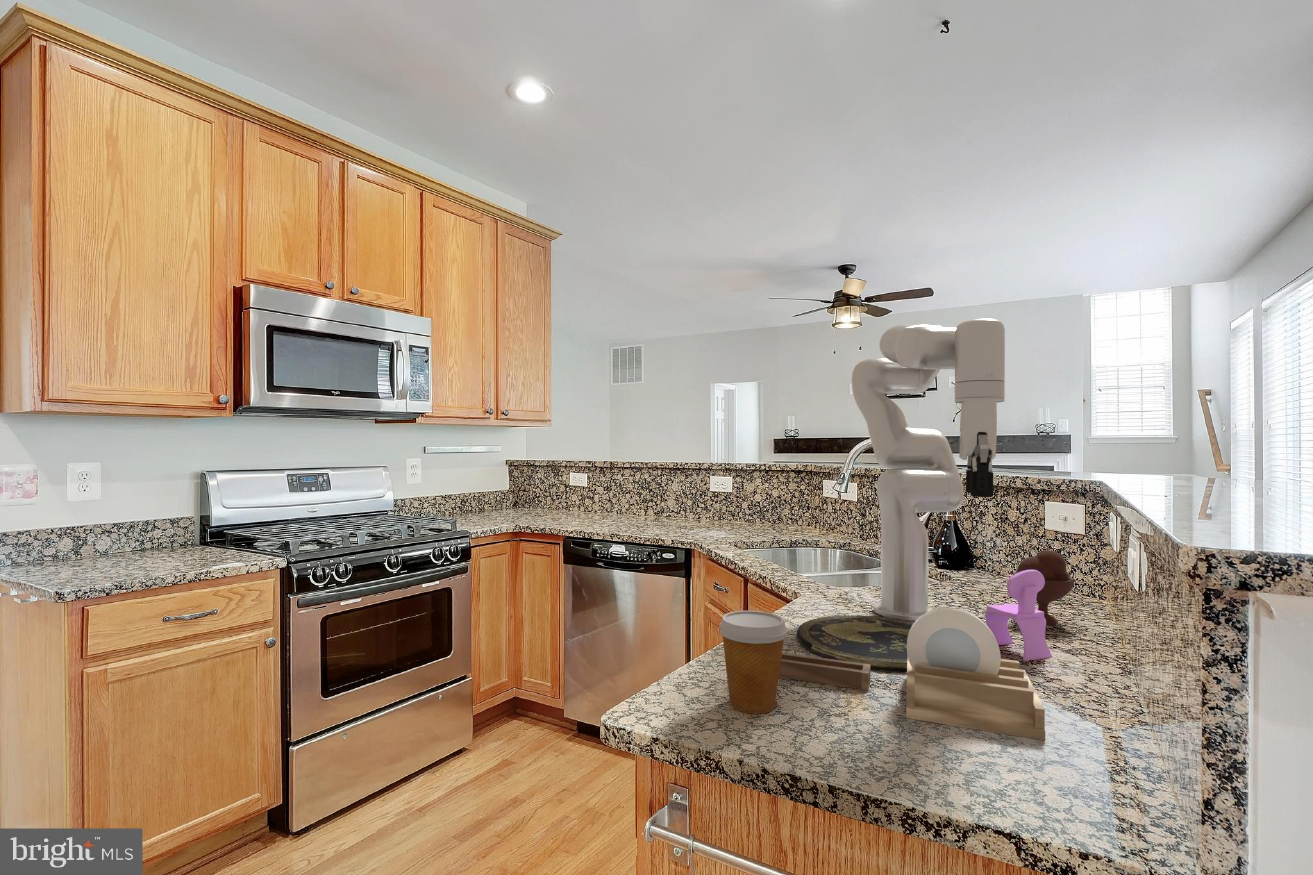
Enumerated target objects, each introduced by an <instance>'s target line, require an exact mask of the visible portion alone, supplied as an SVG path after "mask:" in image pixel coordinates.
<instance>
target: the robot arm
mask: <svg viewBox="0 0 1313 875" xmlns="http://www.w3.org/2000/svg"><path fill="white" fill-rule="evenodd" d="M1005 331H1006V330H1005V325H1004V323H1003V322H1002V321H1001V320H998V319H994V318H978V319H970V320H966V321H962V322H960V323H959V324H958V325H957V326H956V327H943V326H942V325H936V324H935V325H934V324H933V325H931V324H900V325H899V324H898V325H895V326H892V327H890V328H888V329H887V330H886V331H885V332H884V333H883V334H882V336H881V337H880V339H879V349H880V352H881V354H882V355H883V356H884V357H875V358H868V359H864V360H862V361H860V362H857V364H856V365H855V366H854V368H853V370H852V374H851V388H852V395H853V398H854V401H855V403H856V406H857V408H858V409H859V411H860V413H861V414H862V417H863V418H864V420H865V422H866V424H867V429H868V434H869V437H870V442H871V446H872V449H873V453H874V456H875V459H876V462H877V464H878V465H879V466H880V467H882V468H884V469H885V471H883V472H882V473H881V474H880V476H878V478H877V482H876V494H877V500H878V505H879V506H878V507H879V513H880V531H881V532H880V539H881V540H880V542H881V545H880V548H881V549H880V550H881V551H880V602H876V603H874V604H873V612H874V613H876V614H877V615H879V616H880V617H887V618H895V619H901V620H907V621H912V622H915V621H916V620H917V619H918V618H919V617H920V616H922V615H923V614H925V613H927V612H929V611H931V610H934V609H935V608H932V607H930V606H929V534H928V530H927V528H926V526H925V525H924V523H923V521H922V520H921V519H920V517H918V515H917V514H918V513H949V512H953V511H957V510H958V509H959V508H960V507H961V506H962V504H963V502H964V492H967V493H969V494H970V496H971V497H974V498H993V497H994V472H993V460H994V459H995V458H996V453H997V437H998V436H997V435H998V434H997V433H998V430H997V429H998V421H997V420H998V415H997V414H998V406H997V405H998V403H1005V397H1006V396H1005V395H1006V394H1005V392H1006V390H1005V387H1006V386H1005V385H1006V384H1005V383H1006V382H1005V378H1006V377H1005V375H1006V373H1005V372H1006V371H1005V370H1006V369H1005V368H1006V367H1005V363H1006V362H1005V361H1006V357H1005V356H1006V354H1005V351H1006V349H1005V348H1006V347H1005V345H1006V343H1005V342H1006V341H1005V340H1006V338H1005V337H1006V336H1005V335H1006V332H1005ZM941 370H954V403H955V404H961V406H960V415H959V416H960V417H959V458H960V459H961V460H964V461H966V460H967V464H966V466H967V467H966V468H967V469H965V490H966V491H964V487H963V482H962V478H961V475H960V472H959V470H958V466H957V463H956V461H955V457H954V454H953V452H952V448H951V446H950V443H949V441H948V438H947V437H946V436H945V435H944V434H943V433H942V432H941V431H940V430H937V429H933V428H913V427H910V426H909V425H908V424H907V420H906V416H905V415H904V412H903V410H902V409H901V408H900V407H899V406H898V404H896V402H895V401H893V400H892V399H891V398H889V397H888V396H886V395H885V394H887V395H918V394H922V393H924V392H926V391H927V390H928V389H929V388H930V386H931V385H932V384H933V382H934V381H935V379H936V378H937V375H938V374H939V372H940V371H941Z"/></svg>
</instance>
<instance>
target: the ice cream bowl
mask: <svg viewBox="0 0 1313 875" xmlns="http://www.w3.org/2000/svg"><path fill="white" fill-rule="evenodd" d="M1025 570H1037V571H1039V572H1040V573H1041V574H1042V575H1043V577H1044V579H1045V584H1044V587H1043V588H1042V590H1040V591H1039V592H1038V593H1037V598H1036V603H1037V610H1039V611H1042V612H1044V618H1045V619H1046V626H1056V625H1058V624H1059V620H1058V619H1057V618H1055V617H1054V616H1052V615H1051V614H1049V610H1048V609H1049V605H1050V603H1053V602H1056V601H1058V600H1060V599H1062V598H1064V597H1066V596H1067V595H1068V594H1070V593H1071V591H1072V589H1073V588H1074V585H1075V581H1076V579H1075V578H1073V577H1071V576H1070V574H1069V572H1068V571H1067V561H1066V559H1065V557H1063V556H1062V554H1060V553H1059V552H1058V551H1055V550H1049V549H1048V550H1047V549H1046V550H1040V551H1039V552H1038V553H1037V554H1036V555H1035V556H1029V557H1026V558H1024V559H1022V560H1021V561H1020V562H1019V564H1018V565H1017V570H1016V571H1015V572H1012V576H1013V575H1015V574H1017V573H1019V572H1021V571H1025Z"/></svg>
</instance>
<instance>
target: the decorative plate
mask: <svg viewBox="0 0 1313 875" xmlns="http://www.w3.org/2000/svg"><path fill="white" fill-rule="evenodd" d="M914 622H915V621H907V620H901V619H895V618H888V617H884V616H874V615H855V614H853V615H852V614H851V615H847V614H846V615H830V616H821V617H818V618H813V619H810V620H807V621H805V622H803V623H802V624H800V625H799V626H798V627H797V628H798V629H797V631H796V640H798V641H797V642H798V644H799V645H800V646H801V647H802V648H803V649H804V648H805V649H804V650H806V651H808V652H809V653H810V654H812V655H815V656H816V657H819V658H827V659H834V660H841V661H849V662H856V663H864V664H871V665H870V671H882V672H888V673H889V672H890V673H905V674H907V658H908V655H907V638H908V634H909V631H910V629H911V627H912V625H913V624H914Z"/></svg>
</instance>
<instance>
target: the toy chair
mask: <svg viewBox="0 0 1313 875" xmlns="http://www.w3.org/2000/svg"><path fill="white" fill-rule="evenodd" d="M1044 584H1045V579H1044V577H1043V575H1042V574H1041V573H1040V572H1039V571H1037V570H1025V571H1021V572H1019V573H1017V574H1015V575H1013V574H1012V575H1011V577H1009V578H1008V580H1007V582H1006V589H1007V590H1006V591H1007V594H1008V596H1009V597H1011V598H1013V599H1014V600H1016V601H1017V603H1014V602H1013V603H1012V602H1011V603H1005V604H991V605H986V611H985V612H984V616H985V622H986V623H985V624H986V625H987V626H988V627H989V628H990V630H991V631H992V633H993V635H994V636H995V638H996V641H997V643H998V646H1000V645H1001V646H1002V645H1010V644H1014V641H1013V639H1012V637H1011V635H1010V632H1009V631H1010V630H1009V628H1008V624H1009V623H1008V622H1009V619H1011V620H1013V621H1014V622H1016V624H1017V627H1018V628H1019V630H1020V632H1021V635H1022V638H1023V646H1024V647H1023V657H1022V660H1023V661H1032V660H1038V659H1039V660H1041V659H1047V658H1048V659H1049V658H1053V655H1052V653H1051V651H1050V648H1049V646H1048V644H1047V641H1046V627H1047V625H1046V619H1045V618H1044V612H1042V611H1039V610H1038V609H1036V607H1037V606H1036V605H1037V604H1036V603H1037V601H1036V598H1037V593H1038V592H1039V591H1040V590H1042V588H1043V587H1044Z"/></svg>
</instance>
